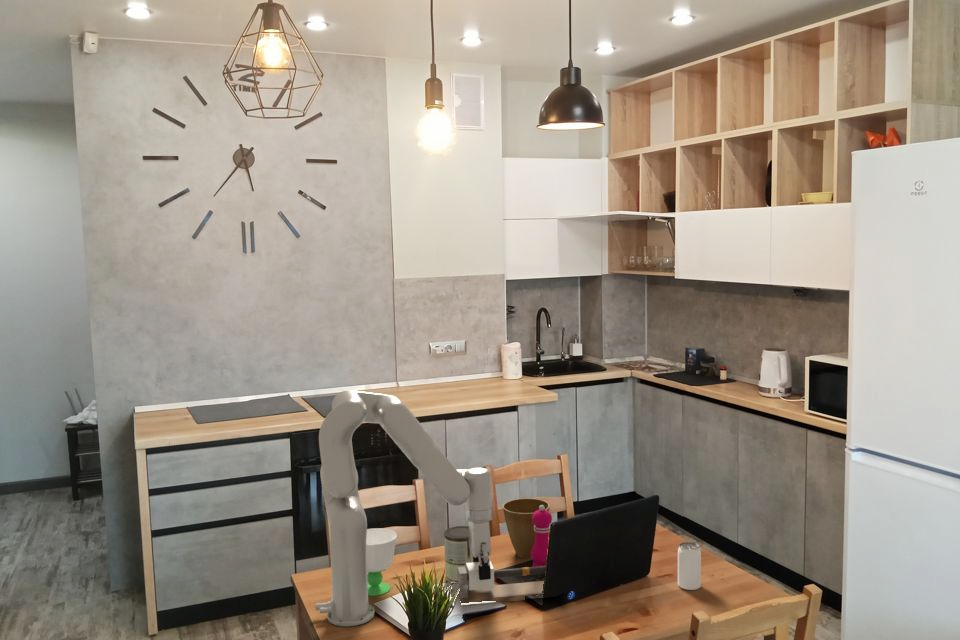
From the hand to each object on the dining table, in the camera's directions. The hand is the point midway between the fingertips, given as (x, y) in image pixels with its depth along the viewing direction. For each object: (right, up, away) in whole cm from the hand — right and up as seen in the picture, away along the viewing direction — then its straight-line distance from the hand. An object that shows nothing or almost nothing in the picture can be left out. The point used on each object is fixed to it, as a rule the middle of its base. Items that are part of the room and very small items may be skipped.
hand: (481, 572), depth 225 cm
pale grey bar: (+8, -7, +2) cm, 10 cm away
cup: (-31, -8, +8) cm, 33 cm away
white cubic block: (0, -4, 0) cm, 4 cm away
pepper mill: (+19, -6, +20) cm, 28 cm away
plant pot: (+15, -4, +32) cm, 36 cm away
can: (+60, -6, +5) cm, 60 cm away
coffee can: (-6, -6, +15) cm, 17 cm away
